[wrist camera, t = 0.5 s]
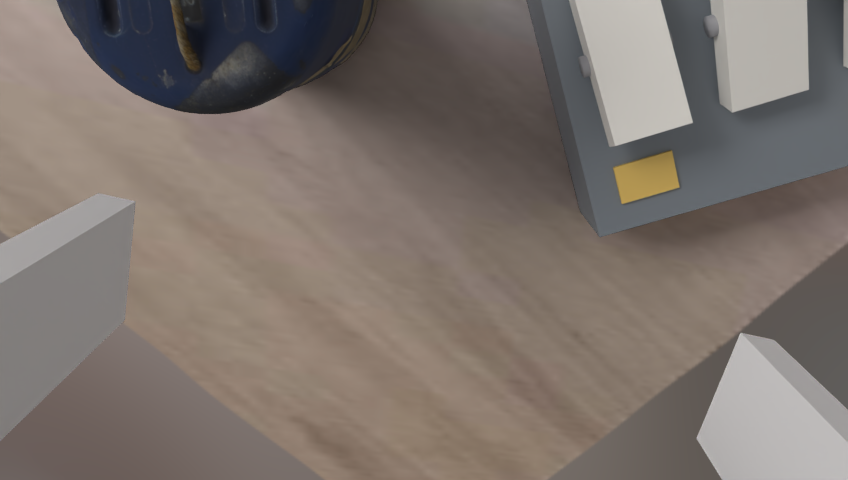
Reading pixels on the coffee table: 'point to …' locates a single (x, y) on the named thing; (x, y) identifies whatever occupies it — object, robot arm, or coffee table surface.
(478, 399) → the coffee table surface
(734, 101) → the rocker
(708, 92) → the switch unit
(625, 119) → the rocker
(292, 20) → the canister
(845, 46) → the block
